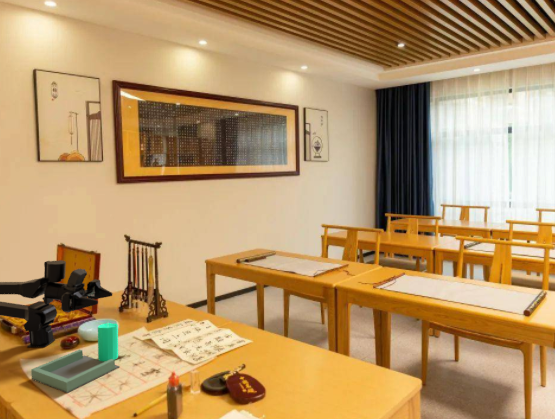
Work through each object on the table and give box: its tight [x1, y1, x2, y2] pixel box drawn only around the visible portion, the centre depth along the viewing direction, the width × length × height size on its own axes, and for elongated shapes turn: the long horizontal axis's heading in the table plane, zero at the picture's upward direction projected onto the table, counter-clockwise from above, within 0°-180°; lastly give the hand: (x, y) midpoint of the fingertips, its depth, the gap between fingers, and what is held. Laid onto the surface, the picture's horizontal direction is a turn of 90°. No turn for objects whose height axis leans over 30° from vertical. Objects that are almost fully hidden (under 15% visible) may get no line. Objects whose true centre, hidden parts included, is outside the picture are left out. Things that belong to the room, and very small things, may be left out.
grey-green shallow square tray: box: [30, 349, 120, 394], centre depth 128 cm, size 17×17×3 cm
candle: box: [97, 322, 119, 362], centre depth 137 cm, size 6×6×12 cm
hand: (105, 298), depth 147 cm, fingers open, 9 cm apart
